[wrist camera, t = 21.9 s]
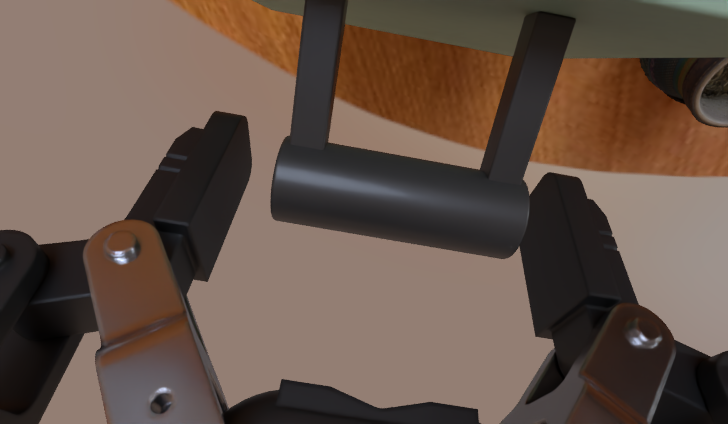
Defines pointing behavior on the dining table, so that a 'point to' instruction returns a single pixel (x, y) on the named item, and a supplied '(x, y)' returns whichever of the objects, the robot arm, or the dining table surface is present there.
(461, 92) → the dining table surface
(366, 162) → the chest lid
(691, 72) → the mate gourd
